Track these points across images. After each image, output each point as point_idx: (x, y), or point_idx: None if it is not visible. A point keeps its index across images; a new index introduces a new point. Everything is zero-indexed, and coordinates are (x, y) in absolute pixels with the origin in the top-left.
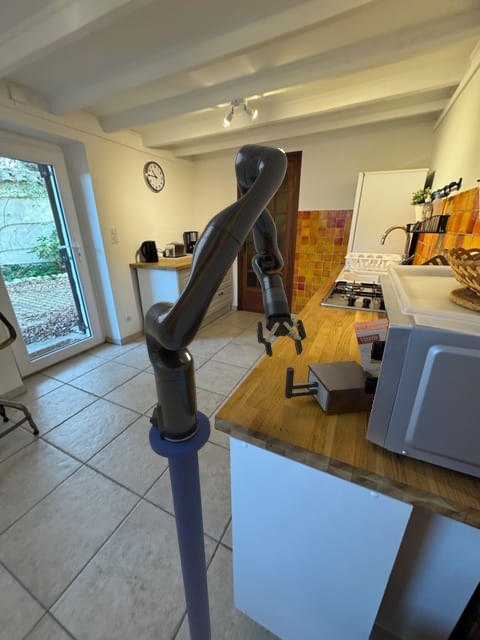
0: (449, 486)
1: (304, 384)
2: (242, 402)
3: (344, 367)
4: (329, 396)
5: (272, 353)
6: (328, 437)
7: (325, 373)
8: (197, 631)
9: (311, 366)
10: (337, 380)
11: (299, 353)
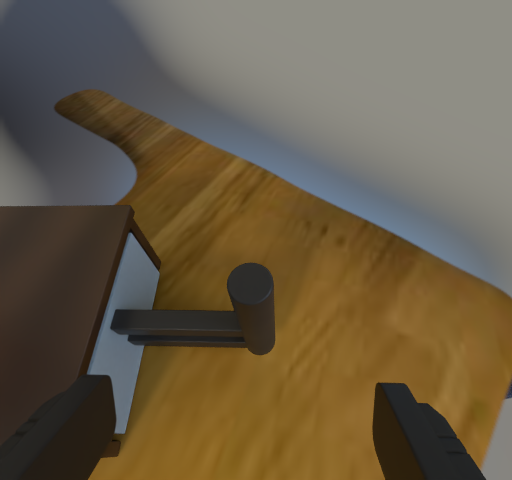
0: (87, 103)
1: (182, 313)
2: (457, 376)
3: None
4: (135, 225)
5: (380, 384)
6: (211, 194)
7: (39, 326)
8: None
9: None
10: (40, 259)
11: (106, 381)
